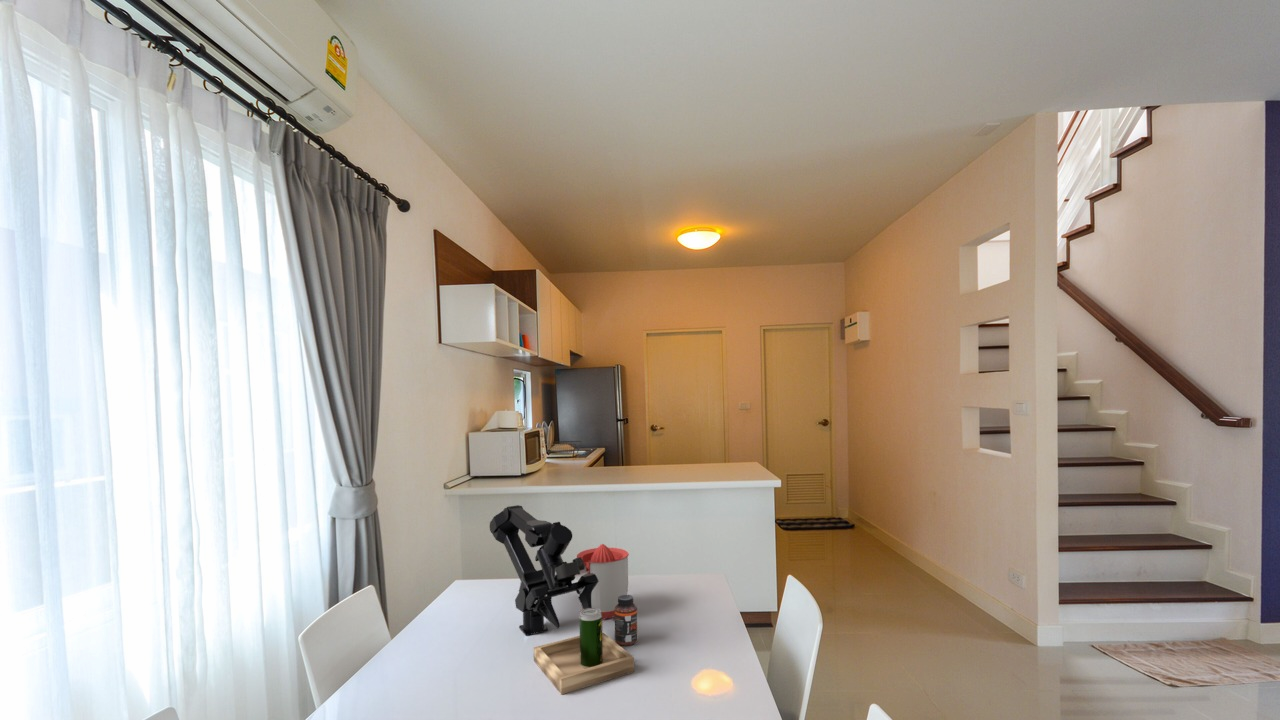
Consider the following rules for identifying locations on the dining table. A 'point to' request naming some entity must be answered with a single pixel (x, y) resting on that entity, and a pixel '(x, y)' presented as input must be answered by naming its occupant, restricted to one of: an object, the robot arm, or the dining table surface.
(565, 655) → the wooden tray
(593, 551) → the citrus juicer
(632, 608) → the supplement bottle
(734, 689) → the dining table surface
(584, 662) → the beer can
